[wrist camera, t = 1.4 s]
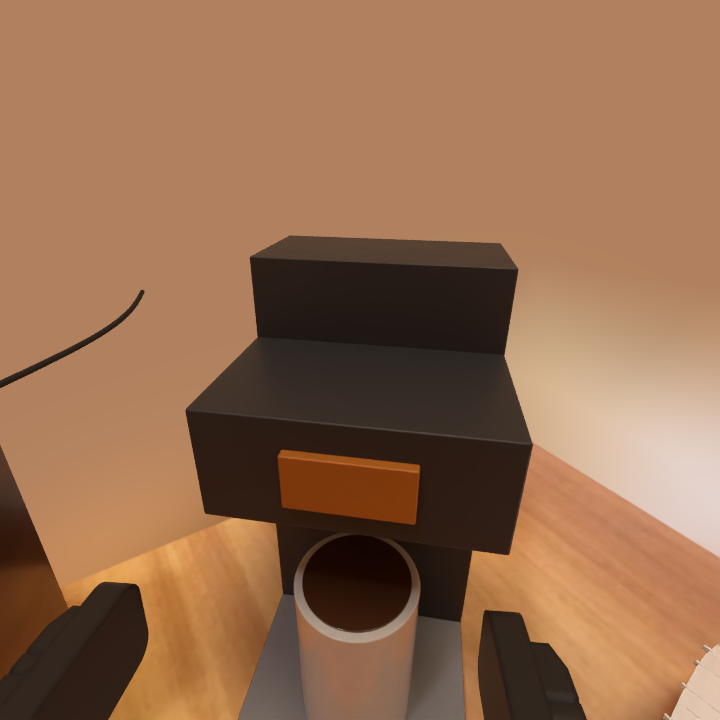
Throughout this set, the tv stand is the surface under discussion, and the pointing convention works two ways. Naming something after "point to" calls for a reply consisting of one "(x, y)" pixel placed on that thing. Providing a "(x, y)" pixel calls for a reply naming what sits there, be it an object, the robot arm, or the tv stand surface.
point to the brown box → (22, 576)
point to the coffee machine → (371, 432)
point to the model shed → (701, 690)
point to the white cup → (356, 628)
